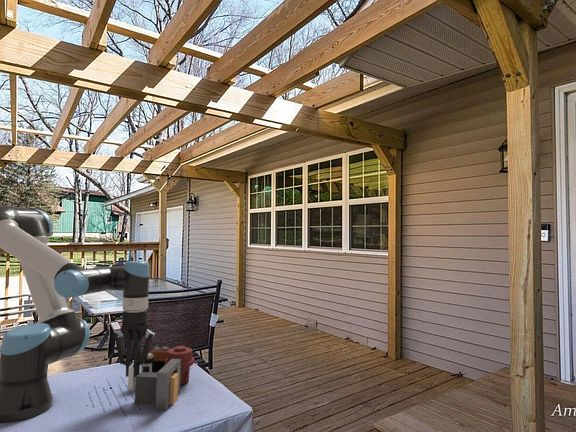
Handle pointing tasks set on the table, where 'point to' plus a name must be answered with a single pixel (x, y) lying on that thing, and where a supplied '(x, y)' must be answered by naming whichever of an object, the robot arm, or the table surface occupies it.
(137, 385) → the grey and orange block
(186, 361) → the mechanical component
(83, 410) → the table surface
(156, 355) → the battery
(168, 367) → the grey piece
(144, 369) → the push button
